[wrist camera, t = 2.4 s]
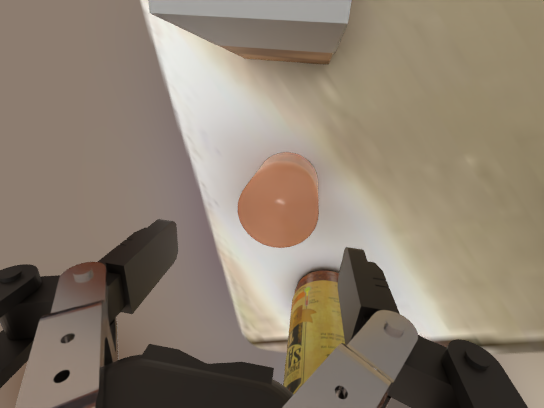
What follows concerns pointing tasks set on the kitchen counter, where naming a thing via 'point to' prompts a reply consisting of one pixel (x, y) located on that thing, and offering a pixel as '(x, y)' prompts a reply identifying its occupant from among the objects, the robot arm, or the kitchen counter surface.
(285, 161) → the clay cylinder
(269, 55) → the walnut block
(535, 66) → the kitchen counter surface
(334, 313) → the sauce bottle
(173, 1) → the slate block
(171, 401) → the robot arm
